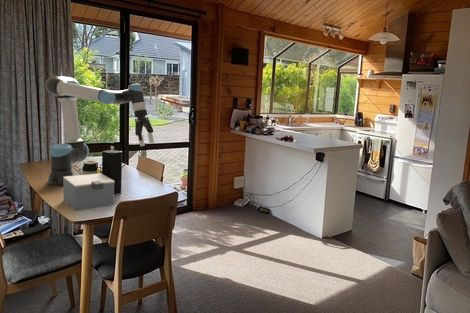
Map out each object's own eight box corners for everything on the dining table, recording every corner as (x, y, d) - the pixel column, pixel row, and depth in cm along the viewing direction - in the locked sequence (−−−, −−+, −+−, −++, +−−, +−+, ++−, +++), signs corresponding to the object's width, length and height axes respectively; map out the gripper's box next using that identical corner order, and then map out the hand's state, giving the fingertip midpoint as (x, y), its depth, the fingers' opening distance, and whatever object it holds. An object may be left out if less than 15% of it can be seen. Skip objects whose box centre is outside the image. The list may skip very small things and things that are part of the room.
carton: (63, 200, 198) (63, 178, 195) (100, 195, 211) (101, 175, 208) (74, 210, 184) (74, 187, 182) (113, 204, 197) (114, 183, 195)
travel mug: (98, 190, 220) (98, 160, 216) (95, 194, 212) (95, 163, 208) (84, 189, 219) (84, 160, 215) (80, 193, 211) (80, 162, 207)
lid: (63, 180, 195) (63, 174, 195) (101, 176, 208) (101, 171, 208) (78, 192, 178) (78, 185, 177) (118, 187, 191) (118, 181, 190)
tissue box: (110, 196, 211) (111, 147, 206) (101, 193, 215) (102, 145, 210) (121, 193, 218) (122, 146, 213) (112, 190, 222) (113, 144, 217)
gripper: (136, 109, 211) (144, 146, 213) (153, 108, 235) (160, 141, 237) (124, 111, 212) (132, 148, 215) (143, 110, 236) (150, 143, 239)
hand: (147, 144), depth 226 cm, fingers open, 13 cm apart
